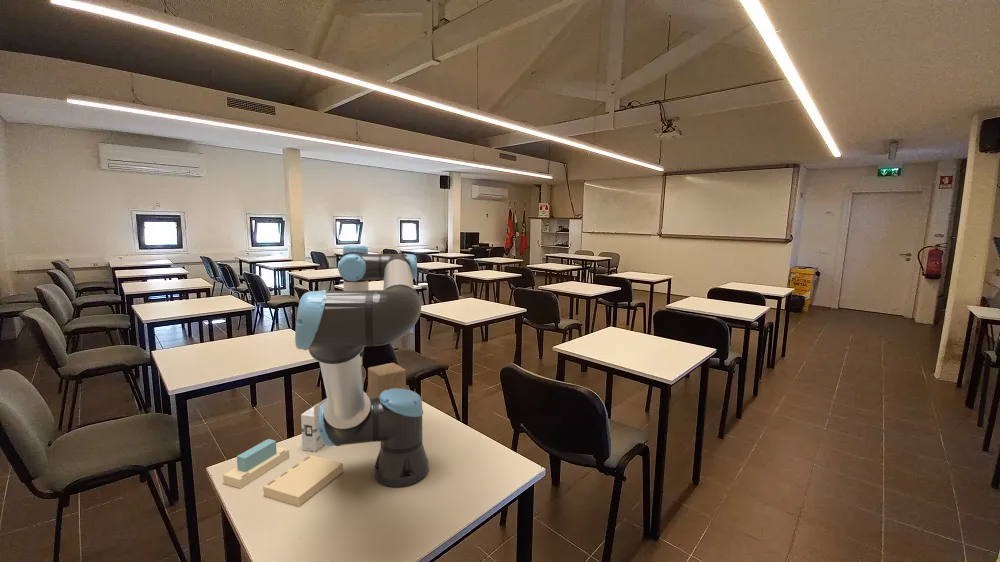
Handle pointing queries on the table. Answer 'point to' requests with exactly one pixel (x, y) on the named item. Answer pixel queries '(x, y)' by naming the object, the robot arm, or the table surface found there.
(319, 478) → the beige flat slab
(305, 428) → the ink box
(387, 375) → the wooden block
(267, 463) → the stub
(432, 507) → the table surface
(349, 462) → the table surface
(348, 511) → the table surface
